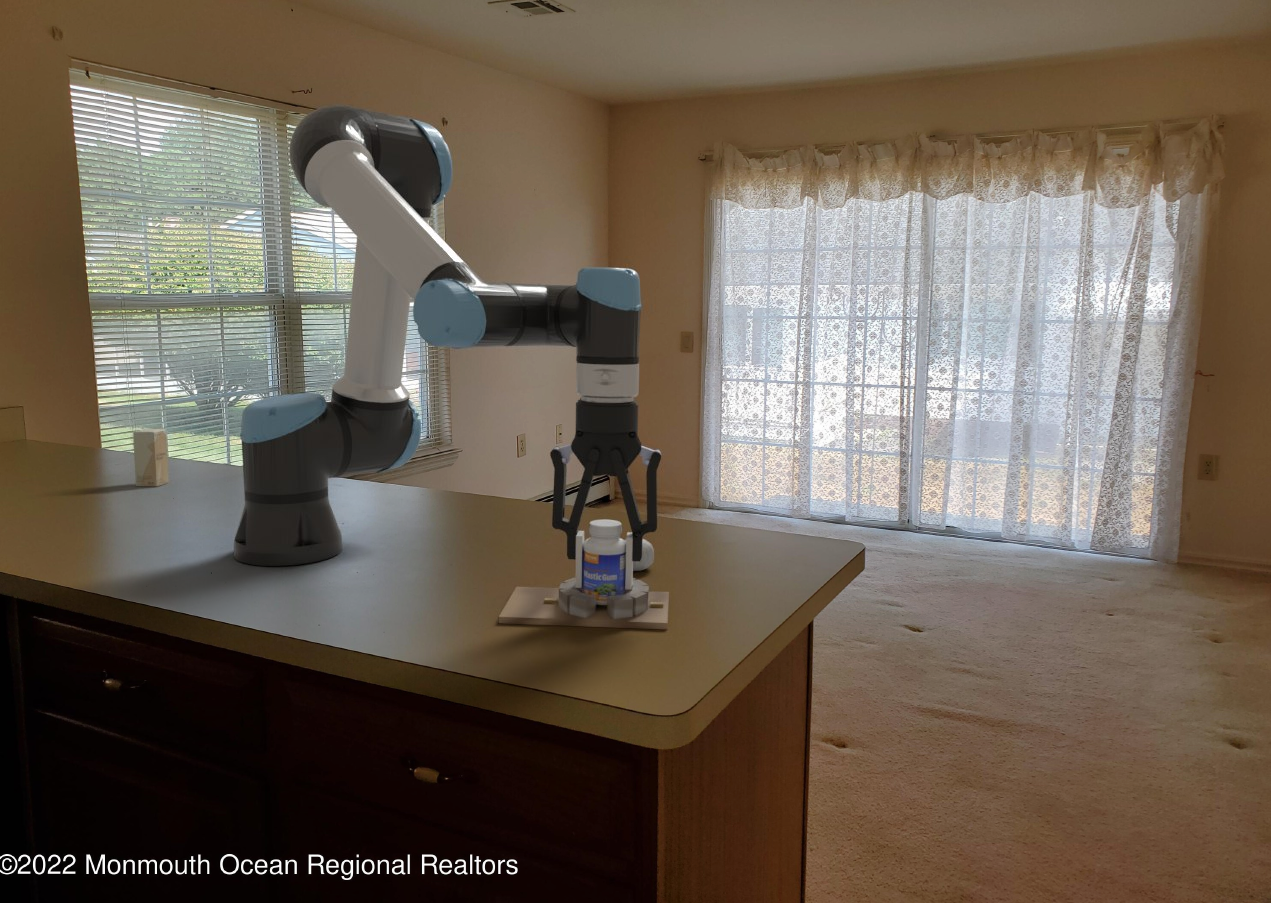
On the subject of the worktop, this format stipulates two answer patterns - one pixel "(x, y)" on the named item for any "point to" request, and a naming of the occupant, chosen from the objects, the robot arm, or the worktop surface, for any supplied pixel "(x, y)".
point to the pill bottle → (604, 561)
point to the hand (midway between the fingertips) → (604, 584)
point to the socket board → (555, 616)
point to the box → (150, 457)
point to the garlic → (644, 557)
